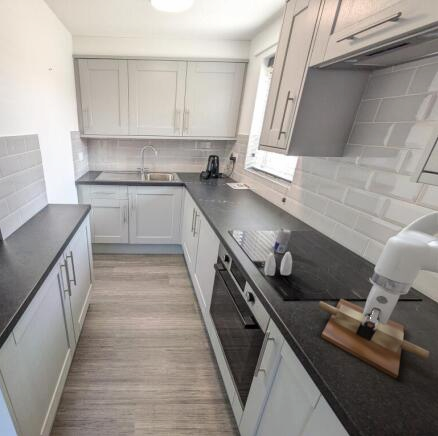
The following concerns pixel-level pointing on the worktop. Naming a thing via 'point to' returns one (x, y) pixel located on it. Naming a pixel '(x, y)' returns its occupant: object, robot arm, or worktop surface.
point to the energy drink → (282, 240)
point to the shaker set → (285, 265)
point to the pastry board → (363, 343)
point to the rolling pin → (383, 333)
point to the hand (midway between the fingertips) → (365, 328)
